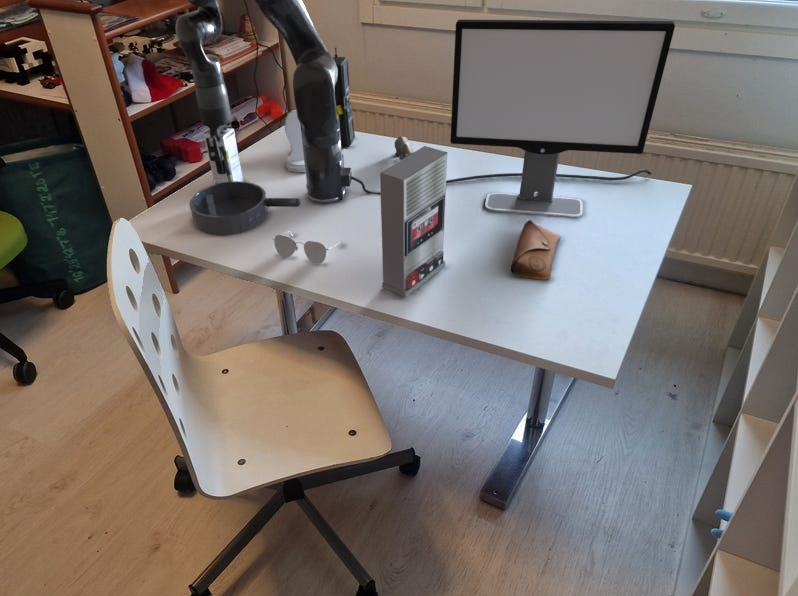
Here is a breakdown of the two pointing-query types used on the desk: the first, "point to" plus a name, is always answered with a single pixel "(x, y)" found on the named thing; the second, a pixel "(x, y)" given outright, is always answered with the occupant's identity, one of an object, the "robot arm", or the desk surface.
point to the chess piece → (294, 143)
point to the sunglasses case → (534, 252)
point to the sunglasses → (311, 248)
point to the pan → (229, 208)
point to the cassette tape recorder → (413, 219)
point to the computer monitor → (555, 95)
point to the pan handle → (282, 202)
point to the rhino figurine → (402, 147)
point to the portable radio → (343, 101)
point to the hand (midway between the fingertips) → (225, 167)
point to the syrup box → (227, 158)
